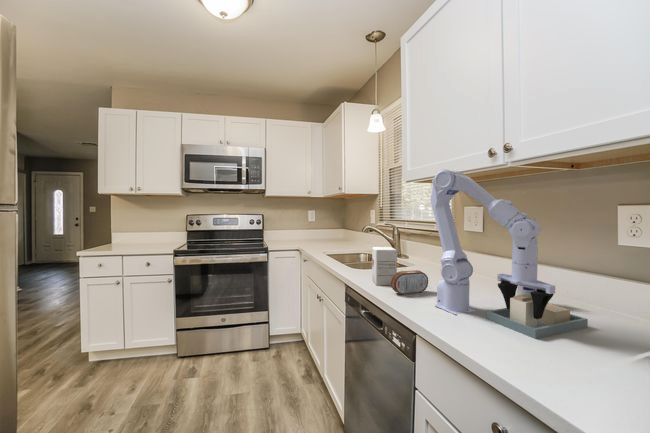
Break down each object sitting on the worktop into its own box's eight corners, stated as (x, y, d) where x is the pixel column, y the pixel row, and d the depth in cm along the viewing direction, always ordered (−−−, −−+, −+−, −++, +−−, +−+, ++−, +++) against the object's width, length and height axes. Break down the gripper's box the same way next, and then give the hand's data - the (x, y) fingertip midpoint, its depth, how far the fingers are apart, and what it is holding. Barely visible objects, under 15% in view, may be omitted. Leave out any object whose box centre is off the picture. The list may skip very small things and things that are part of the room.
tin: (424, 290, 117) (424, 269, 117) (429, 292, 114) (429, 270, 114) (390, 293, 113) (390, 271, 112) (394, 296, 110) (395, 273, 109)
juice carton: (509, 323, 82) (510, 295, 82) (521, 321, 84) (521, 293, 83) (525, 329, 78) (525, 299, 78) (537, 327, 80) (537, 297, 79)
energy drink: (538, 308, 96) (539, 270, 96) (519, 306, 98) (519, 269, 98) (533, 303, 101) (534, 267, 101) (515, 301, 103) (516, 266, 103)
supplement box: (371, 280, 133) (371, 246, 133) (391, 280, 134) (391, 246, 133) (375, 285, 124) (375, 249, 124) (397, 285, 125) (397, 249, 124)
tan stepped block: (525, 316, 87) (525, 303, 87) (539, 314, 89) (540, 301, 89) (555, 327, 79) (555, 312, 79) (569, 324, 81) (570, 309, 81)
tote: (485, 320, 86) (486, 311, 85) (534, 312, 92) (534, 303, 92) (535, 341, 72) (535, 329, 72) (587, 329, 79) (587, 319, 79)
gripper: (489, 259, 86) (489, 306, 86) (542, 269, 72) (540, 325, 73) (507, 258, 88) (507, 303, 89) (561, 267, 75) (560, 321, 75)
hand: (523, 313), depth 81 cm, fingers open, 7 cm apart
